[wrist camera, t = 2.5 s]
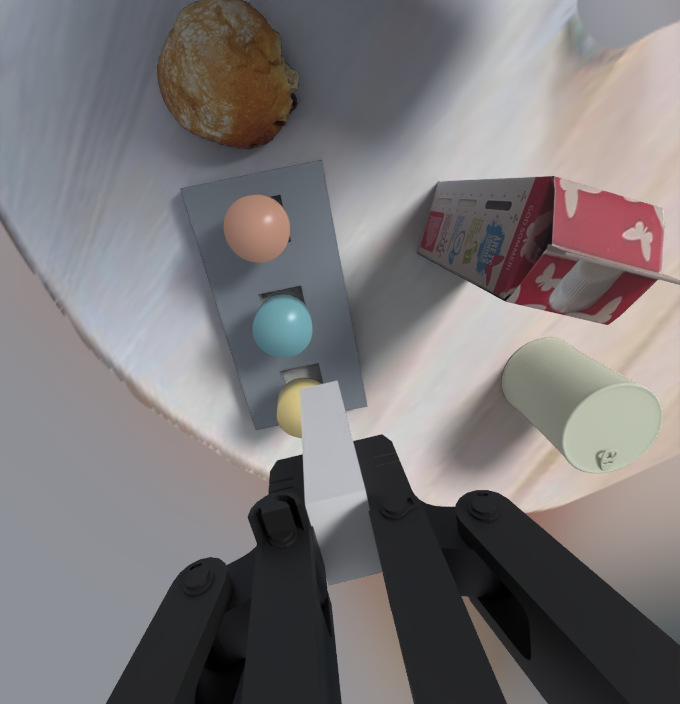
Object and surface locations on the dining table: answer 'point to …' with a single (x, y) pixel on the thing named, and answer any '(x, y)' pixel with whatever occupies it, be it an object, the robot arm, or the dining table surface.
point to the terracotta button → (257, 228)
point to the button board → (279, 284)
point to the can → (582, 405)
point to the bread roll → (226, 74)
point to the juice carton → (547, 243)
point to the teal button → (282, 326)
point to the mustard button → (292, 405)
